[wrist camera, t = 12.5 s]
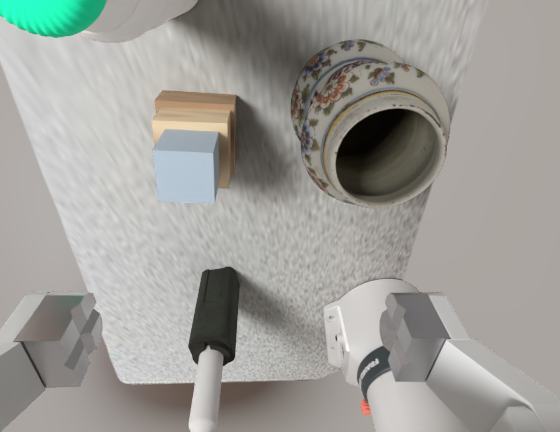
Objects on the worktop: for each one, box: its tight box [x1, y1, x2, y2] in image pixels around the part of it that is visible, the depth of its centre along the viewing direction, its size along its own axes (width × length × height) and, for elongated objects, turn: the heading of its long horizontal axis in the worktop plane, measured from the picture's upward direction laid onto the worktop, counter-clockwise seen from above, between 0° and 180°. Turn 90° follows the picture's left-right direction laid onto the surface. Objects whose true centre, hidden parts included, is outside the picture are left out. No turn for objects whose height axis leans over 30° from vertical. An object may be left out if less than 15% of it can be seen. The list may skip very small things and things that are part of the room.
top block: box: [152, 107, 231, 188], centre depth 38 cm, size 7×7×4 cm
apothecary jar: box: [291, 40, 450, 209], centre depth 33 cm, size 12×12×18 cm
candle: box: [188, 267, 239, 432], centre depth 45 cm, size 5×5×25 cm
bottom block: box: [155, 90, 236, 174], centre depth 41 cm, size 8×8×4 cm
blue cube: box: [152, 129, 220, 204], centre depth 34 cm, size 5×5×5 cm
